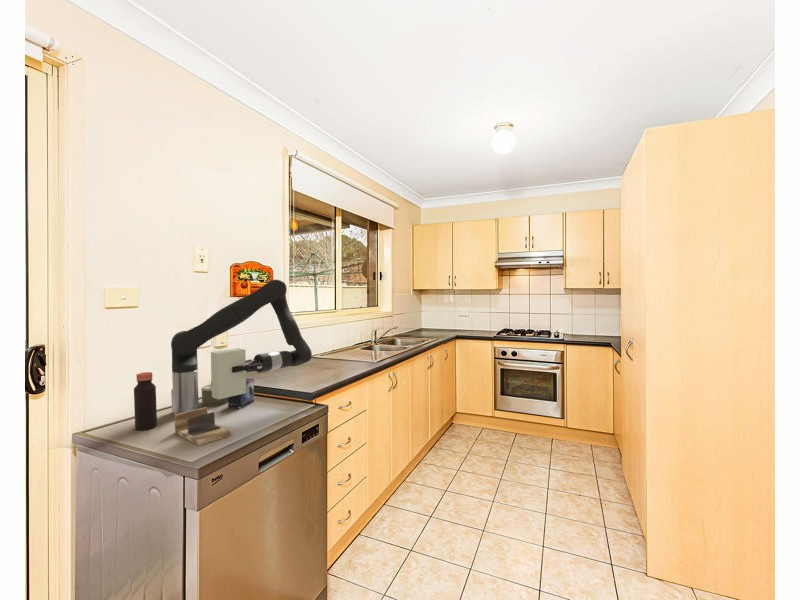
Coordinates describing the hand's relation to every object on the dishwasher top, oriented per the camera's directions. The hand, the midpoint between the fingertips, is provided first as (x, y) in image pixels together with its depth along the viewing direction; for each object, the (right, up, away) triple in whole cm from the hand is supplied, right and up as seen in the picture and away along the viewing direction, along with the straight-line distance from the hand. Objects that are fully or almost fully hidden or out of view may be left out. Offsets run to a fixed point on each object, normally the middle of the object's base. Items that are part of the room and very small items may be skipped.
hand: (228, 369), depth 150 cm
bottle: (-28, -21, -5) cm, 36 cm away
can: (-17, -20, +26) cm, 37 cm away
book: (0, -10, +1) cm, 10 cm away
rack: (-4, -21, -12) cm, 24 cm away
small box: (-4, -20, +23) cm, 30 cm away
